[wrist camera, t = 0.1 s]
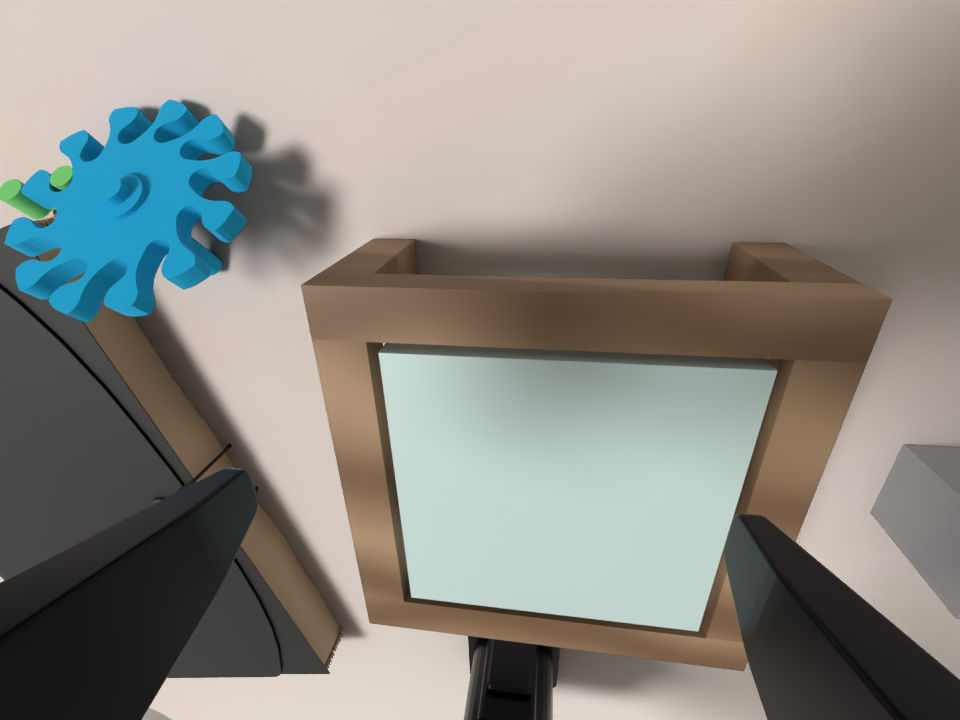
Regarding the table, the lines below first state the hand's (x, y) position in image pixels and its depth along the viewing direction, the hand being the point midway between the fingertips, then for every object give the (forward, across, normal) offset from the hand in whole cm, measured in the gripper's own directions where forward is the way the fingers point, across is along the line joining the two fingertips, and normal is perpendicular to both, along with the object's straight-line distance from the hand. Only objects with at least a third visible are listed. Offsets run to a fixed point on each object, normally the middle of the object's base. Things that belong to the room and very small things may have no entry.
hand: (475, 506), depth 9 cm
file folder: (+15, +29, +16) cm, 37 cm away
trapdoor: (+9, -2, +7) cm, 11 cm away
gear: (+15, +16, -4) cm, 22 cm away
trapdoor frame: (+15, -2, +7) cm, 16 cm away
